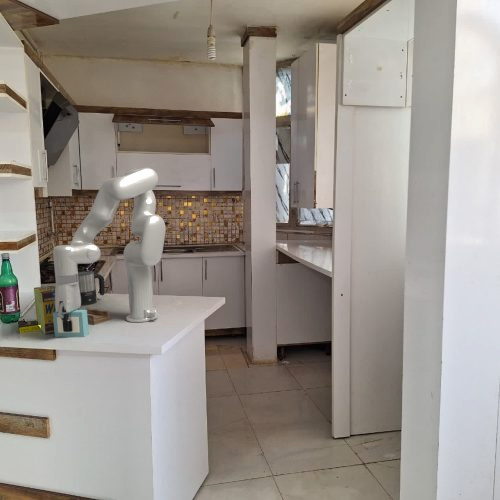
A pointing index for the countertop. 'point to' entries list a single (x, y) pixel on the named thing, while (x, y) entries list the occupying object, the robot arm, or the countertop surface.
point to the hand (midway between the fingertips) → (71, 329)
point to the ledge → (97, 316)
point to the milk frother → (89, 287)
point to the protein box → (45, 307)
